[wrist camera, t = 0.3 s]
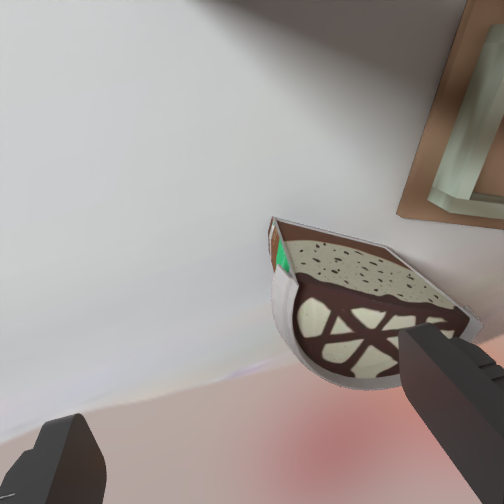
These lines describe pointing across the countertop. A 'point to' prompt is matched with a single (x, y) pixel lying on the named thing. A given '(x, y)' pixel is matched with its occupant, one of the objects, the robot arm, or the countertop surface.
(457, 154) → the holder
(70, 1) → the countertop surface
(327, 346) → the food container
